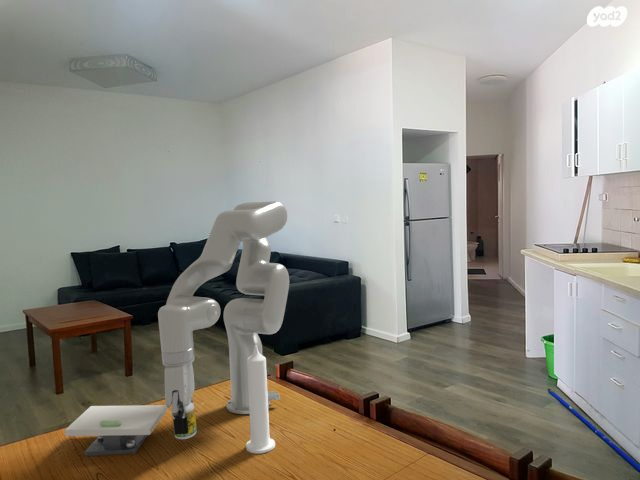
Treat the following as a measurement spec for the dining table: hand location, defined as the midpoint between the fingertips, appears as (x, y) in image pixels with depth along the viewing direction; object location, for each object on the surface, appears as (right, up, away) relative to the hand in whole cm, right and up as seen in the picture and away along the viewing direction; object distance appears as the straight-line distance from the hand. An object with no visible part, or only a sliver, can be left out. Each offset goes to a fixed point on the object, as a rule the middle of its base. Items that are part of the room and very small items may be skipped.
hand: (184, 426), depth 120 cm
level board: (-18, 0, +4) cm, 18 cm away
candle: (+19, -5, -1) cm, 19 cm away
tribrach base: (-17, -5, +4) cm, 19 cm away
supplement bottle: (0, -2, 0) cm, 2 cm away
